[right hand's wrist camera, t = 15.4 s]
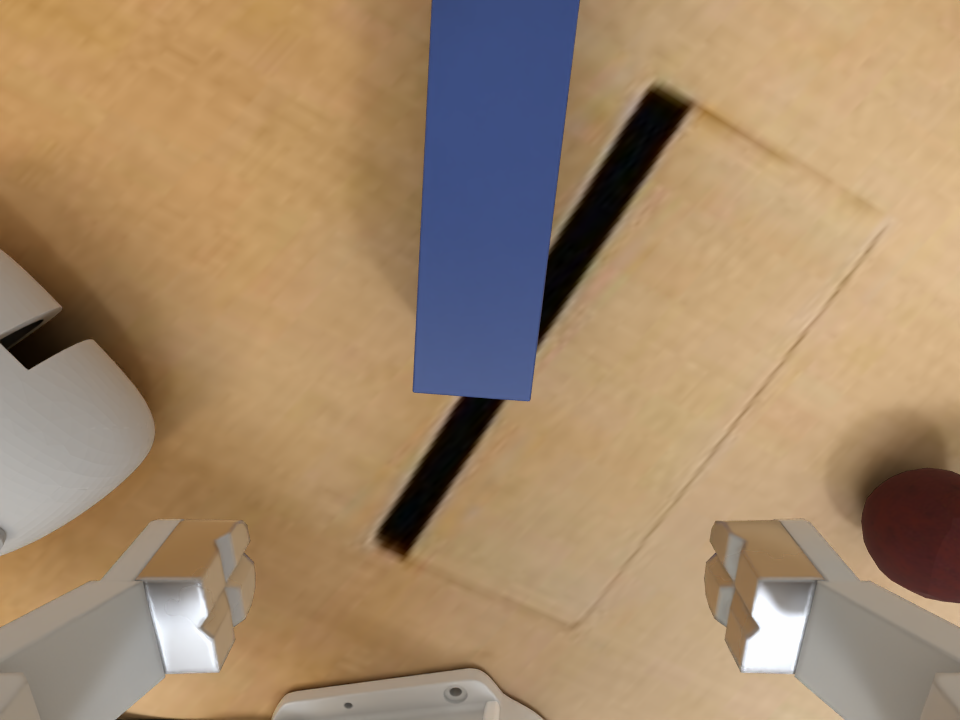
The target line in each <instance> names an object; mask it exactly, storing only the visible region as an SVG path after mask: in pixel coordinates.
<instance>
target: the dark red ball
mask: <svg viewBox="0 0 960 720" xmlns="http://www.w3.org/2000/svg"><path fill="white" fill-rule="evenodd" d="M861 522H862V530H863V539H864V543H865V545H866V547H867V550H868V552H869V554H870V555H871V557H872V558H873V560H874V561H875V563H876V565H877V566H878V568H879V569H880V570H881V571H882V572H883V573H884V574H885V575H886V576H887V577H888V578H889V579H890V580H892V581H893V582H895V583H897V584H899V585H901V586H902V587H904V588H906V589H908V590H910V591H912V592H914V593H916V594H918V595H920V596H923V597H925V598H929V599H934V600H939V601H944V602H953V603H960V475H959V474H957V473H954V472H952V471H947V470H942V469H933V468H923V469H916V470H910V471H905V472H902V473H900V474H897V475H895V476H893V477H891V478H889V479H887V480H886V481H885V482H883V483H882V484H881V485H879V486H878V487H877V488H876V489H875V490H874V491H873V492H872V493H871V494H870V496H869V497H868V498H867V500H866V503H865V506H864V510H863V513H862V521H861Z"/></svg>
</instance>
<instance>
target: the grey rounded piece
mask: <svg viewBox="0 0 960 720" xmlns="http://www.w3.org/2000/svg"><path fill="white" fill-rule="evenodd" d="M61 310H62V306H61V305H60V304H59V303H58V302H57V301H56V300H55V299H54V298H53V297H52V296H51V295H50V294H49V293H48V292H47V291H46V290H45V289H44V288H43V287H42V286H41V285H40V284H39V283H38V282H37V281H36V280H35V279H34V278H33V277H32V276H31V275H30V274H29V273H28V272H26V271H25V270H24V269H23V268H22V267H21V266H20V265H19V264H18V263H17V262H16V261H14V260H13V259H12V258H11V257H10V256H9V255H7V254H6V253H5V252H4V251H2V250H1V249H0V556H1V555H4V554H7V553H9V552H12V551H15V550H17V549H19V548H21V547H24V546H26V545H28V544H30V543H32V542H34V541H36V540H38V539H40V538H42V537H44V536H46V535H48V534H49V533H51V532H53V531H55V530H57V529H58V528H60V527H62V526H63V525H65V524H66V523H68V522H70V521H71V520H73V519H75V518H76V517H77V516H79V515H80V514H82V513H83V512H85V511H86V510H88V509H89V508H90V507H92V506H93V505H94V504H96V503H97V502H99V501H100V500H101V499H103V498H104V497H105V496H106V495H108V494H109V493H110V492H111V491H113V490H114V489H115V488H116V487H117V486H119V485H120V484H121V483H122V482H123V481H124V480H125V479H126V478H127V477H128V476H129V475H130V474H131V473H132V472H133V471H134V470H135V469H136V468H137V467H138V466H139V465H140V464H141V463H142V461H143V460H144V459H145V457H146V456H147V455H148V453H149V451H150V449H151V447H152V445H153V442H154V437H155V425H154V420H153V417H152V414H151V411H150V409H149V407H148V405H147V403H146V401H145V400H144V398H143V397H142V395H141V394H140V393H139V391H138V390H137V388H136V387H135V386H134V384H133V383H132V382H131V381H130V380H129V378H128V377H127V376H126V375H125V374H124V372H123V371H122V370H121V369H120V368H119V367H118V366H117V365H116V363H115V362H114V361H113V360H112V359H111V358H110V357H109V356H108V355H107V354H106V353H105V352H104V350H103V349H102V348H101V347H100V346H99V345H98V344H97V343H96V342H95V341H94V340H93V339H88V340H85V341H82V342H79V343H77V344H75V345H73V346H71V347H69V348H67V349H65V350H63V351H61V352H59V353H57V354H55V355H53V356H52V357H50V358H48V359H46V360H45V361H43V362H41V363H40V364H38V365H36V366H34V367H33V368H31V369H29V370H27V369H26V368H25V367H24V366H23V365H22V364H21V363H20V362H19V361H18V360H17V359H16V358H15V357H14V356H13V355H12V354H11V353H10V352H9V351H7V350H8V349H10V348H11V347H13V346H14V345H16V344H17V343H19V342H20V341H21V340H23V339H24V338H26V337H27V336H29V335H30V334H31V333H33V332H34V331H36V330H37V329H39V328H40V327H41V326H43V325H44V324H45V323H47V322H48V321H50V320H51V319H52V318H54V317H55V316H56V315H57V314H58V313H60V311H61Z"/></svg>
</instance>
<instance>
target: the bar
mask: <svg viewBox="0 0 960 720" xmlns="http://www.w3.org/2000/svg"><path fill="white" fill-rule="evenodd" d="M579 3H580V0H432V7H431V28H430V48H429V68H428V89H427V109H426V130H425V150H424V170H423V191H422V211H421V231H420V252H419V272H418V292H417V313H416V333H415V353H414V374H413V392H414V393H427V394H440V395H453V396H466V397H479V398H492V399H505V400H518V401H530V399H531V391H532V383H533V375H534V366H535V358H536V350H537V342H538V334H539V326H540V318H541V310H542V302H543V294H544V286H545V278H546V269H547V261H548V253H549V245H550V237H551V229H552V221H553V213H554V205H555V197H556V189H557V180H558V172H559V164H560V156H561V148H562V140H563V132H564V124H565V116H566V108H567V100H568V92H569V83H570V75H571V67H572V59H573V51H574V43H575V35H576V27H577V19H578V11H579Z"/></svg>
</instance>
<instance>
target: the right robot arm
mask: <svg viewBox="0 0 960 720" xmlns="http://www.w3.org/2000/svg"><path fill="white" fill-rule="evenodd" d="M249 542H250V537H249V532H248V527H247V524H246V523H245V522H244V521H242V520H207V519H186V520H184V519H157V520H154V521H151V522H150V523H149V524H148V525H147V526H146V527H145V529H144V530H143V531H142V532H141V533H140V534H139V536H138V537H137V538H136V539H135V540H134V541H133V543H132V544H131V545H130V546H129V547H128V548H127V550H126V551H125V552H124V553H123V554H122V555H121V557H120V558H119V559H118V560H117V561H116V562H115V564H114V565H113V566H112V567H111V568H110V569H109V571H108V572H107V573H106V574H105V575H104V576H103V578H102V579H101V580H100V581H89V582H87V583H85V584H83V585H81V586H79V587H78V588H76V589H74V590H72V591H70V592H68V593H66V594H64V595H62V596H60V597H58V598H56V599H54V600H52V601H50V602H49V603H47V604H45V605H43V606H41V607H39V608H37V609H35V610H33V611H31V612H29V613H27V614H25V615H23V616H21V617H20V618H18V619H16V620H14V621H12V622H10V623H8V624H6V625H4V626H2V627H0V720H120V719H117V718H118V717H119V716H120V715H121V714H123V713H124V712H125V711H126V710H127V709H128V708H130V707H131V706H132V705H133V704H134V703H135V702H137V701H138V700H139V699H140V698H141V697H143V696H144V695H145V694H146V693H147V692H148V691H150V690H151V689H152V688H153V687H154V686H155V685H157V684H158V683H159V682H160V681H161V680H162V679H164V678H165V674H182V673H216V672H220V670H221V668H222V666H223V664H224V662H225V660H226V658H227V656H228V654H229V651H230V649H231V647H232V645H233V643H234V641H235V634H234V628H233V627H235V626H236V625H237V624H239V623H240V622H242V621H243V620H244V619H246V616H247V614H248V612H249V610H250V608H251V605H252V601H253V596H254V592H255V567H254V562H253V561H252V560H251V559H250V558H249V557H248V556H247V555H246V554H245V553H244V552H245V550H246V548H247V546H248V544H249ZM710 542H711V544H712V546H713V548H714V550H715V552H716V553H715V554H714V555H713V556H712V557H711V558H710V559H709V560H708V561H707V562H706V568H705V577H704V581H705V592H706V598H707V601H708V605H709V608H710V610H711V612H712V614H713V616H714V619H716V620H717V621H718V622H720V623H721V624H723V625H724V626H725V627H727V628H726V634H725V641H726V643H727V645H728V647H729V649H730V651H731V653H732V655H733V658H734V660H735V662H736V664H737V666H738V668H739V670H740V672H743V673H778V674H795V676H794V677H796V678H797V679H798V680H799V681H800V682H801V683H803V684H804V685H805V686H806V687H807V688H808V689H810V690H811V691H812V692H813V693H814V694H815V695H817V696H818V697H819V698H820V699H821V700H822V701H824V702H825V703H826V704H827V705H828V706H829V707H831V708H832V709H833V710H834V711H835V712H836V713H838V714H839V715H840V716H841V717H842V718H843V719H845V720H960V627H958V626H956V625H954V624H952V623H950V622H948V621H946V620H944V619H942V618H940V617H938V616H936V615H934V614H933V613H931V612H929V611H927V610H925V609H923V608H921V607H919V606H917V605H915V604H913V603H911V602H909V601H907V600H906V599H904V598H902V597H900V596H898V595H896V594H894V593H892V592H890V591H888V590H886V589H884V588H882V587H881V586H879V585H877V584H875V583H873V582H871V581H860V580H859V579H858V578H857V576H856V575H855V574H854V573H853V572H852V571H851V569H850V568H849V567H848V566H847V565H846V564H845V562H844V561H843V560H842V559H841V558H840V557H839V555H838V554H837V553H836V552H835V551H834V550H833V548H832V547H831V546H830V545H829V544H828V543H827V541H826V540H825V539H824V538H823V537H822V536H821V534H820V533H819V532H818V531H817V530H816V529H815V527H814V526H813V525H812V524H811V523H810V522H809V521H807V520H805V519H774V520H752V521H715V523H714V525H713V527H712V530H711V536H710ZM147 720H172V719H147ZM271 720H543V719H542V718H541V717H540V716H539V715H538V714H537V713H535V712H534V711H532V710H531V709H529V708H528V707H526V706H524V705H522V704H520V703H519V702H517V701H515V700H513V699H511V698H509V697H508V696H506V695H505V694H504V693H502V691H501V690H500V689H499V687H498V686H497V685H496V684H495V683H494V681H493V680H492V679H491V678H490V677H489V676H488V675H487V674H486V673H484V672H483V671H481V670H478V669H474V668H467V669H459V670H451V671H444V672H436V673H429V674H421V675H414V676H406V677H399V678H391V679H384V680H376V681H369V682H361V683H354V684H346V685H339V686H331V687H324V688H316V689H309V690H302V691H295V692H291V693H288V694H286V695H285V696H284V697H283V698H282V700H281V701H280V702H279V704H278V705H277V707H276V709H275V711H274V713H273V716H272V719H271Z"/></svg>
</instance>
